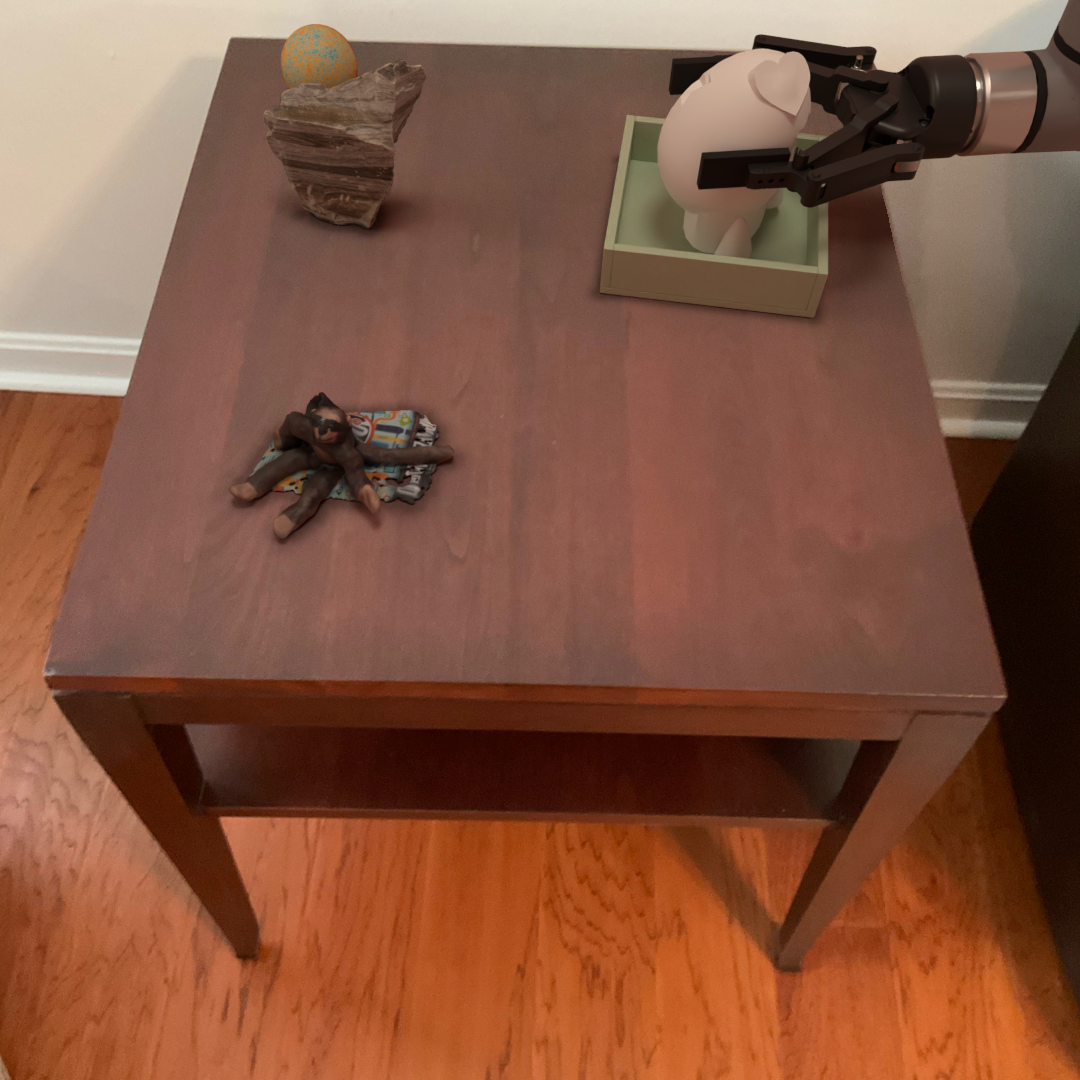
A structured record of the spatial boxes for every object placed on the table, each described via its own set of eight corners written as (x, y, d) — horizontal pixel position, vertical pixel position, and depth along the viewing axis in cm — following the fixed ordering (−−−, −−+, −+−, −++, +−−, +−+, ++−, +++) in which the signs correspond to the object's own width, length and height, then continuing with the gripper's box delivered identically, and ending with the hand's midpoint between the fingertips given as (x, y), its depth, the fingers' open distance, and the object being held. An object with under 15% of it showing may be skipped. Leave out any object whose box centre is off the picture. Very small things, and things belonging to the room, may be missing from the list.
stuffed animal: (202, 459, 73) (305, 329, 71) (293, 488, 82) (387, 373, 79) (286, 570, 68) (400, 433, 66) (373, 588, 77) (476, 468, 74)
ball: (355, 124, 96) (344, 54, 91) (281, 120, 97) (266, 50, 91) (367, 80, 100) (357, 10, 94) (296, 76, 101) (282, 6, 95)
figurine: (628, 233, 85) (646, 65, 73) (679, 157, 91) (703, -12, 78) (755, 275, 83) (796, 109, 70) (799, 194, 88) (844, 26, 76)
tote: (815, 180, 93) (828, 135, 89) (814, 318, 83) (828, 274, 79) (622, 160, 94) (626, 114, 90) (599, 293, 85) (603, 248, 81)
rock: (276, 214, 89) (237, 52, 77) (305, 174, 92) (272, 11, 80) (412, 247, 87) (394, 86, 75) (437, 204, 90) (424, 43, 78)
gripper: (992, 245, 78) (708, 264, 76) (898, 64, 90) (653, 77, 89) (1033, 160, 71) (724, 179, 70) (927, -22, 84) (663, -9, 82)
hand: (684, 122), depth 79 cm, fingers closed on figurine, 11 cm apart
